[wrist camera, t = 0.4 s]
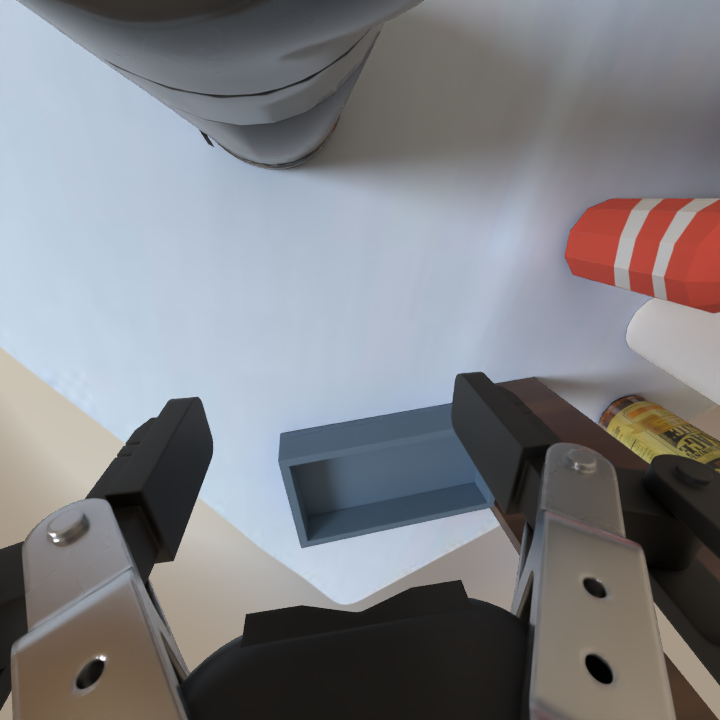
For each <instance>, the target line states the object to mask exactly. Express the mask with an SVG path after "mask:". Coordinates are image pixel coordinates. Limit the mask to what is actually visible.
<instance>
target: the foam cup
mask: <svg viewBox="0 0 720 720" xmlns="http://www.w3.org/2000/svg"><path fill="white" fill-rule="evenodd" d="M626 341H627V344H628V346H629V348H630V349H632V350H633V351H634V352H636V353H637V354H639V355H640V356H642V357H644V358H645V359H647V360H648V361H650V362H651V363H653V364H655V365H656V366H658V367H659V368H661V369H663V370H664V371H666V372H667V373H669V374H670V375H672V376H674V377H675V378H677V379H678V380H680V381H681V382H683V383H685V384H686V385H688V386H689V387H691V388H692V389H694V390H696V391H697V392H699V393H700V394H702V395H704V396H705V397H707V398H708V399H710V400H711V401H713V402H715V403H716V404H718V405H719V406H720V312H718V313H710V312H706V311H703V310H699V309H695V308H692V307H688V306H684V305H681V304H677V303H674V302H670V301H666V300H663V299H659V298H653V299H651V300H649V301H647V302H646V303H645V304H644V305H643V306H642V307H641V308H640V309H639V310H638V311H637V312H636V313H635V314H634V316H633V318H632V320H631V321H630V323H629V325H628V328H627V333H626Z"/></svg>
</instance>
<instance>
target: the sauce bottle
mask: <svg viewBox="0 0 720 720" xmlns="http://www.w3.org/2000/svg"><path fill="white" fill-rule="evenodd" d="M599 426H600V427H601V428H603V429H604V430H605V431H607V432H608V433H609V434H611V435H612V436H613V437H615V438H616V439H617V440H619V441H620V442H621V443H622V444H624V445H625V446H626V447H628V448H629V449H630V450H632V451H633V452H634V453H636V454H637V455H638V456H640V457H641V458H642V459H644V460H645V461H646V462H648V463H649V464H650V463H651V461H652V459H653V458H654V457H655V456H657V455H662V454H672V455H679V456H683V457H687V458H690V459H693V460H696V461H698V462H701V463H703V464H705V465H707V466H709V467H711V468H713V469H714V470H716V471H718V472H719V473H720V441H718V440H717V439H715V438H713V437H711V436H709V435H708V434H706V433H704V432H703V431H701V430H700V429H698V428H696V427H694V426H692V425H691V424H689V423H688V422H686V421H684V420H683V419H681V418H679V417H677V416H676V415H674V414H672V413H671V412H669V411H667V410H666V409H664V408H662V407H661V406H659V405H657V404H655V403H653V402H649V401H647V400H645V399H644V398H642V397H639V396H629V397H625V398H623V399H620V400H617V401H614V402H613V403H612V404H610V406H609V408H607V409H606V411H605V412H604V413H603V414H602V417H601V418H600V421H599Z"/></svg>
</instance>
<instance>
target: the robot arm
mask: <svg viewBox="0 0 720 720" xmlns="http://www.w3.org/2000/svg"><path fill="white" fill-rule="evenodd" d="M17 1H18V2H20V3H21V4H23V5H24V6H25V7H27V8H28V9H30V10H31V11H32V12H34V13H35V14H37V15H38V16H40V17H41V18H42V19H44V20H45V21H47V22H48V23H50V24H51V25H52V26H54V27H55V28H57V29H58V30H59V31H60V32H62V33H63V34H65V35H66V36H67V37H69V38H70V39H72V40H73V41H74V42H76V43H77V44H79V45H80V46H82V47H83V48H84V49H86V50H87V51H89V52H90V53H91V54H93V55H94V56H96V57H97V58H99V59H100V60H101V61H103V62H104V63H106V64H107V65H108V66H110V67H111V68H113V69H114V70H116V71H117V72H118V73H120V74H121V75H123V76H124V77H125V78H127V79H128V80H130V81H131V82H133V83H134V84H136V85H137V86H139V87H140V88H142V89H143V90H144V91H146V92H147V93H149V94H150V95H151V96H153V97H154V98H156V99H157V100H159V101H160V102H161V103H163V104H164V105H166V106H167V107H168V108H170V109H171V110H173V111H174V112H175V113H177V114H178V115H180V116H181V117H183V118H184V119H185V120H187V121H188V122H190V123H191V124H192V125H194V126H195V127H197V128H198V129H199V130H200V132H201V133H202V135H203V136H204V138H205V140H206V141H207V143H208V144H210V145H211V146H213V144H212V143H211V141H210V140H209V138H208V136H209V137H211V138H212V139H214V140H215V141H216V142H217V143H218V144H219V145H220V146H221V147H222V148H224V149H225V150H226V151H227V152H229V153H230V154H232V155H233V156H235V157H236V158H238V159H240V160H242V161H244V162H246V163H248V164H251V165H253V166H257V167H260V168H266V169H285V168H290V167H294V166H297V165H299V164H302V163H303V162H305V161H307V160H309V159H310V158H312V157H313V156H314V155H315V154H316V153H318V152H319V151H320V150H321V148H322V147H323V146H324V145H325V144H326V142H327V141H328V140H329V138H330V136H331V135H332V133H333V131H334V129H335V127H336V125H337V122H338V119H339V117H340V113H341V111H342V109H343V107H344V105H345V103H346V101H347V99H348V97H349V95H350V93H351V91H352V89H353V87H354V85H355V83H356V80H357V78H358V76H359V74H360V72H361V70H362V68H363V66H364V64H365V62H366V60H367V58H368V56H369V54H370V52H371V50H372V48H373V46H374V43H375V41H376V39H377V37H378V35H379V33H380V31H381V28H382V26H383V24H384V22H386V21H389V20H391V19H393V18H395V17H397V16H399V15H401V14H403V13H404V12H406V11H408V10H410V9H411V8H413V7H415V6H417V5H418V4H420V3H421V2H422V1H424V0H17ZM207 135H208V136H207ZM213 147H214V146H213ZM451 421H452V426H453V429H454V431H455V433H456V435H457V436H458V438H459V440H460V441H461V443H462V445H463V446H464V448H465V450H466V451H467V453H468V455H469V456H470V458H471V460H472V461H473V463H474V465H475V466H476V468H477V470H478V471H479V473H480V475H481V476H482V478H483V479H484V481H485V483H486V484H487V486H488V488H489V489H490V491H491V493H492V494H493V496H494V498H495V499H496V501H497V503H498V504H499V506H500V508H501V509H502V511H503V513H504V514H505V516H507V515H514V514H521V513H522V515H523V516H524V518H525V519H526V523H525V526H524V531H523V538H522V544H521V551H520V558H519V566H518V572H517V579H516V586H515V593H514V597H513V602H512V606H511V611H510V612H508V611H506V610H505V609H503V608H501V607H498V606H495V605H493V604H490V603H488V602H484V601H481V600H477V599H473V598H468V597H467V594H466V592H465V589H464V586H463V584H462V581H461V580H457V581H451V582H444V583H438V584H433V585H426V586H420V587H413V588H410V589H408V590H406V591H403V592H401V593H399V594H397V595H395V596H393V597H391V598H389V599H387V600H385V601H383V602H381V603H379V604H377V605H375V606H373V607H370V608H368V609H366V610H364V611H362V612H348V611H340V610H332V609H325V608H318V607H310V606H303V605H301V606H295V607H288V608H282V609H276V610H270V611H263V612H257V613H251V614H246V618H245V624H244V632H243V635H242V636H240V637H238V638H235V639H234V640H232V641H231V642H229V643H227V644H226V645H224V646H222V647H221V648H219V649H218V650H217V651H215V652H214V653H213V654H212V655H210V656H209V657H208V658H207V659H205V660H204V661H203V662H202V663H201V664H200V665H199V666H198V667H197V668H196V669H194V670H193V671H192V672H191V673H190V672H189V670H188V668H187V666H186V664H185V662H184V659H183V657H182V655H181V653H180V651H179V649H178V647H177V644H176V642H175V640H174V637H173V634H172V632H171V630H170V627H169V625H168V622H167V620H166V618H165V615H164V613H163V610H162V608H161V605H160V603H159V601H158V598H157V596H156V593H155V591H154V589H153V586H152V584H151V582H150V580H149V575H150V573H151V570H152V568H153V566H154V564H155V563H162V562H169V561H174V559H175V556H176V553H177V550H178V548H179V545H180V542H181V540H182V537H183V534H184V532H185V529H186V526H187V524H188V521H189V518H190V515H191V513H192V510H193V507H194V505H195V502H196V499H197V497H198V494H199V491H200V488H201V486H202V483H203V480H204V478H205V475H206V472H207V470H208V467H209V464H210V461H211V459H212V455H213V439H212V435H211V432H210V428H209V425H208V421H207V418H206V414H205V411H204V407H203V404H202V401H201V400H200V398H199V397H191V398H180V399H171V400H169V401H168V402H167V404H166V405H165V407H164V408H163V410H162V411H161V413H160V414H159V416H158V417H156V418H151V419H149V420H148V421H147V422H145V423H144V424H143V425H141V426H140V427H139V428H137V429H136V430H135V431H134V433H133V434H132V435H131V437H130V438H129V440H128V441H127V442H126V446H123V448H122V449H121V450H120V452H119V453H118V454H117V458H115V459H114V460H113V461H112V463H111V464H110V465H109V467H108V468H107V469H106V471H105V472H104V474H103V475H102V476H101V478H100V479H99V480H98V482H97V483H96V485H95V486H94V487H93V488H92V490H91V491H90V493H89V494H88V495H87V497H86V498H85V499H84V500H80V501H77V502H74V503H71V504H69V505H66V506H64V507H62V508H60V509H58V510H57V511H55V512H54V513H52V514H50V515H49V516H47V517H46V518H45V519H43V520H42V521H41V522H40V523H39V524H38V525H37V526H36V527H35V528H34V529H33V530H32V531H31V532H30V533H29V535H28V536H27V537H26V539H25V541H23V542H20V543H17V544H15V545H11V546H8V547H6V548H3V549H0V710H1V708H2V707H3V705H4V703H5V701H6V700H7V698H8V696H9V694H10V692H11V690H12V710H13V720H676V715H675V710H674V705H673V699H672V694H671V689H670V684H669V679H668V674H667V668H666V663H665V658H664V653H663V648H662V643H661V638H660V632H659V627H658V622H657V617H656V612H655V606H654V602H655V603H656V605H657V606H658V607H659V609H660V610H661V611H662V612H663V614H664V615H665V616H666V618H667V619H668V620H669V621H670V623H671V624H672V625H673V626H674V628H675V629H676V630H677V632H678V633H679V634H680V636H681V637H682V638H683V639H684V641H685V642H686V643H687V644H688V645H689V647H690V648H691V650H692V651H693V652H694V653H695V655H696V656H697V657H698V659H699V660H700V661H701V662H702V664H703V665H704V666H705V667H706V669H707V670H708V671H709V672H710V674H711V675H712V676H713V678H714V679H715V680H716V681H717V683H718V684H719V685H720V581H719V579H718V578H717V577H716V576H715V575H714V574H713V573H712V572H711V571H710V570H709V569H708V568H707V567H706V566H705V565H704V564H703V563H702V562H701V561H700V560H699V559H698V558H697V557H696V555H697V554H698V552H699V551H700V549H701V548H702V546H703V545H705V546H706V547H707V548H708V549H709V550H710V551H711V552H713V553H714V554H715V555H716V556H717V557H718V558H719V559H720V473H719V472H718V471H716V470H714V469H713V468H711V467H709V466H707V465H705V464H703V463H701V462H698V461H696V460H693V459H690V458H687V457H683V456H679V455H672V454H662V455H657V456H655V457H654V458H653V459H652V461H651V463H650V465H649V467H648V469H647V470H639V469H631V468H623V467H615V466H613V465H612V464H611V463H610V462H609V461H608V460H607V459H606V458H605V457H604V456H602V455H601V454H599V453H598V452H596V451H594V450H592V449H590V448H588V447H585V446H582V445H579V444H574V443H564V442H563V441H562V440H561V439H560V438H559V437H558V436H557V435H556V434H555V433H554V432H553V431H552V430H551V429H550V428H549V427H548V426H547V425H546V424H545V423H544V422H543V421H542V420H541V419H540V418H539V417H538V416H537V415H536V414H533V411H532V410H531V409H530V408H529V407H528V406H527V405H524V402H523V401H522V400H521V399H520V398H519V397H518V396H516V395H515V394H514V393H513V392H511V391H509V390H507V389H505V388H504V387H502V386H500V385H495V384H494V383H493V382H492V381H491V380H490V379H489V378H488V377H487V376H486V375H485V374H484V373H483V372H472V373H461V374H458V375H457V376H456V379H455V385H454V394H453V402H452V410H451Z"/></svg>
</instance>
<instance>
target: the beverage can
mask: <svg viewBox="0 0 720 720" xmlns="http://www.w3.org/2000/svg"><path fill="white" fill-rule="evenodd" d="M565 258H566V260H567V263H568V265H569V267H570V269H571V272H572V274H573V275H576V276H580V277H583V278H586V279H590V280H593V281H597V282H601V283H604V284H608V285H612V286H615V287H619V288H623V289H626V290H630V291H633V292H637V293H641V294H644V295H648V296H652V297H655V298H659V299H663V300H666V301H670V302H674V303H677V304H681V305H684V306H688V307H692V308H695V309H699V310H703V311H706V312H710V313H718V312H720V199H610V200H607V201H605V202H602V203H600V204H598V205H595V206H593V207H591V208H588V209H587V211H586V212H585V213H584V214H583V216H582V217H581V218H580V219H579V221H578V222H577V223H576V224H575V226H574V227H573V228H572V229H571V231H570V234H569V239H568V243H567V248H566V252H565Z"/></svg>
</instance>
